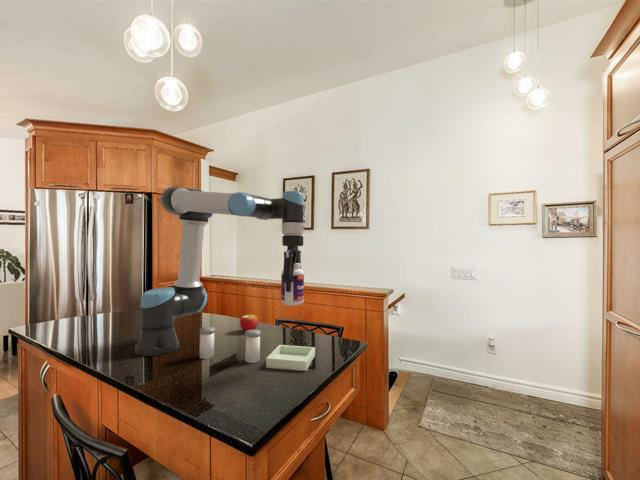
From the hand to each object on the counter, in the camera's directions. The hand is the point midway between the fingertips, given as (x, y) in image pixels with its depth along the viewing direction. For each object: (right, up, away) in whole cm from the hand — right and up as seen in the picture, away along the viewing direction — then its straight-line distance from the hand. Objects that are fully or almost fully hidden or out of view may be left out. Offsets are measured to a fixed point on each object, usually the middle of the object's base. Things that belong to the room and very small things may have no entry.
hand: (292, 298), depth 109 cm
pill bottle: (0, -2, 0) cm, 2 cm away
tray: (0, -22, 0) cm, 22 cm away
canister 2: (-14, -22, +1) cm, 26 cm away
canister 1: (-32, -22, +4) cm, 39 cm away
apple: (-24, -23, +36) cm, 49 cm away
